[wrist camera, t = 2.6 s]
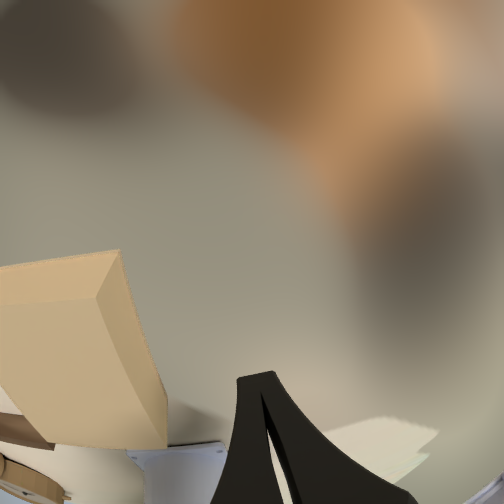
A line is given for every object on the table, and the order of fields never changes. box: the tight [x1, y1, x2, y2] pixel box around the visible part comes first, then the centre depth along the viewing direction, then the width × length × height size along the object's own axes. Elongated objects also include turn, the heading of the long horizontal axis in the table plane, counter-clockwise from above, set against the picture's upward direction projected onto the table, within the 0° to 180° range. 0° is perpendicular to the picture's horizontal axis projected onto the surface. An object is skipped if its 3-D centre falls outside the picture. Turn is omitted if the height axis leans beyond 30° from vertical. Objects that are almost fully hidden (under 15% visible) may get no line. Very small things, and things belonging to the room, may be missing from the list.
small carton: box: [0, 249, 168, 450], centre depth 12 cm, size 10×8×4 cm
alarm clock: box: [0, 453, 71, 504], centre depth 18 cm, size 11×5×15 cm
